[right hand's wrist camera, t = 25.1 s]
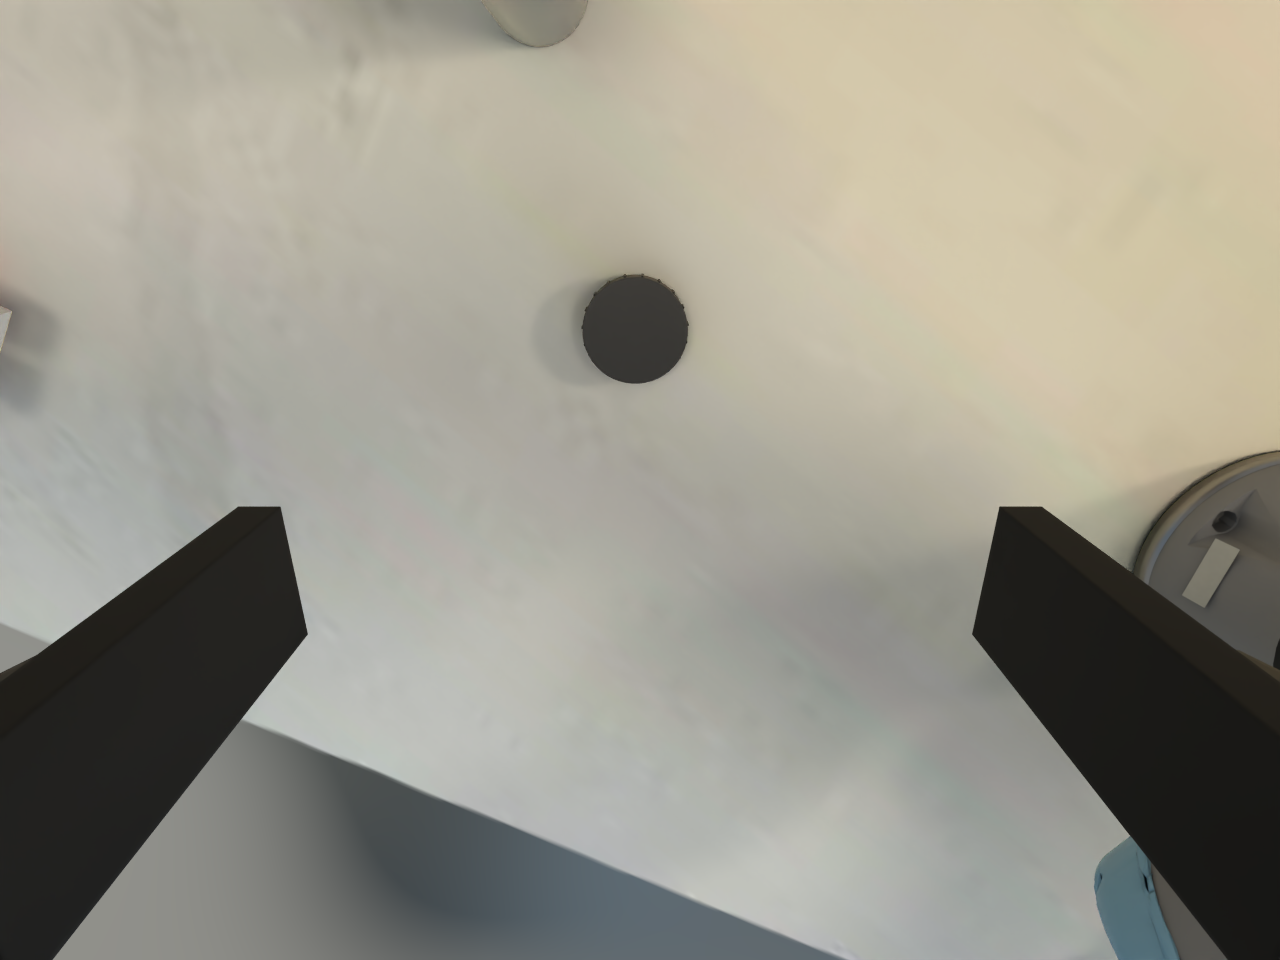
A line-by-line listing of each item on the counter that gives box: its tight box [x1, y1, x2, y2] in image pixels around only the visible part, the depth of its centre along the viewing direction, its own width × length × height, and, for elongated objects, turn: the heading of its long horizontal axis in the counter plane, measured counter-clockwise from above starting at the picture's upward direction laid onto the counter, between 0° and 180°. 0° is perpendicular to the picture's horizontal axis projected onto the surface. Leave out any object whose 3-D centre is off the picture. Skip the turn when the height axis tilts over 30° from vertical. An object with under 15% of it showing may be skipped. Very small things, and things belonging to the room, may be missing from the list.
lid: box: [582, 274, 689, 383], centre depth 38 cm, size 6×6×2 cm
